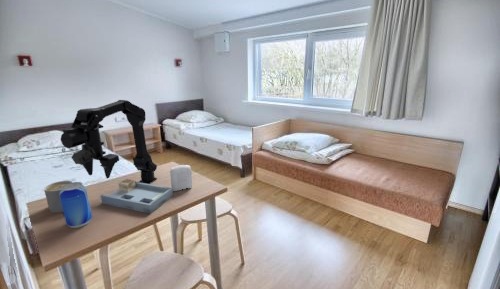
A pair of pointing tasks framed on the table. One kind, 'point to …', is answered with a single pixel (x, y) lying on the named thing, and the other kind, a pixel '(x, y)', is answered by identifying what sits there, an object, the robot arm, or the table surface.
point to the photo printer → (181, 177)
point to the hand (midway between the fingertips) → (99, 176)
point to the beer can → (75, 204)
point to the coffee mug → (54, 196)
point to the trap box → (139, 197)
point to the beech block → (127, 185)
